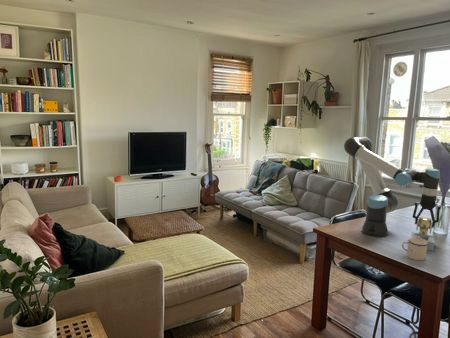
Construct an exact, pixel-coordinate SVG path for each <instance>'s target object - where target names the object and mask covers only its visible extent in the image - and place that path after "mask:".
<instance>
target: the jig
mask: <svg viewBox="0 0 450 338" xmlns="http://www.w3.org/2000/svg"><path fill="white" fill-rule="evenodd" d="M417 236H420V237H421V238H422V239H423V240H425V241H427V242H428V245H427V251H432V252H434V247H435V240H436V237H435V236H434V235H429V234H427V235H424V234H419V232H410V237H409V239H410V238H415V237H417Z"/></svg>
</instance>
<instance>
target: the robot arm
mask: <svg viewBox="0 0 450 338" xmlns="http://www.w3.org/2000/svg"><path fill="white" fill-rule="evenodd" d="M343 147H344V151H345V152H346V153H347V155H349V156H350V157H353V158H354V159H356V160H358V161H359V163H360V166H361V167H362V170H363V171H364V175H365V176H366V179H367V181H368V184H369V185H370V187H371V190H372V191H373V194H372V195H370V196H368V198H367V201H366V211H365V214H366V215H365V220H364V223H363V225H362V227H361V232H362V233H363V234H365V235H368V236H371V237H380V238H381V237H387V236H388V233H389V229H388V226H387V214H389V213H392V212H394V211H395V210H397V209H398V207H399V204H400V203H399V197H398V196H396V194H393V193H392V192H393V191H392V190H391V189H390V188H388V187H387V185H386V184H385V180H384V178H383V176H382V175H381V173H383V174H384V175H386V176H388V177H390V178H391V179H392V180H394V181H395V183H396V184H397V185H398V186H402V187H404V186H408V185H410V184H413V183H418V184H422V194H421V199H420V201H415V202H414V209H413V212H412V218H413V219H414V225H416V227H415V228H416V229H415V230H416V231H418V230H419V226H418V224H419V218H420V217H421V214H422V213H423V211H424V210H427V211H429V214H430V216H431V218H430V219H431V220H432V221H431V226H430V229H429V231H428V232H429V234H431V233H432V229H434V228H435V226H436V223H439V221H440V210H441V208H442V206H441V205H437V195H438V191H439V189H438V188H439V183H440V178H441V171H440V170H439V169H436V168H431V167H429V168H425V170H418V169H412V168H404V169H403V168H401V167H399V166H397V165H396V164H394V163H392V162H391V161H388V160H386V159H385V158H383V157H382V156H379V155H378V154H376V153H374V152H373V149H372V148H373V142H372V140H371V139H370V138H368V137H367V136H361V135H360V136H353V137H349V138H348V139H346V140H345V142H344V144H343ZM419 206H420V207H421V208H420V210H419V211H418V207H419ZM434 208H435V210H436V218H435V214H434ZM417 211H418V213H417ZM416 214H417V215H416Z"/></svg>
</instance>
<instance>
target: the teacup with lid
mask: <svg viewBox="0 0 450 338" xmlns="http://www.w3.org/2000/svg"><path fill="white" fill-rule="evenodd" d="M405 244H406V245H408V246H407V249H406V248H405V247H404V245H405ZM427 245H428V242H427V241H425V240H423V239H422V238H421V237H420V236H417V237H415V238H410V237H409V238H408V241H403V242H402V243H401V248H402V250H404V251H405V252H407V257H408V258H410V259H412V260H414V261H424V260H426V259H427V252H428V250H427Z"/></svg>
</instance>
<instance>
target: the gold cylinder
mask: <svg viewBox="0 0 450 338" xmlns="http://www.w3.org/2000/svg"><path fill="white" fill-rule="evenodd" d="M418 219H419V224H418V228H419V229H418V230H419V231H418V233H419V234H424V235H429V234H428V232H429V230H430V226H431V221H432V218H428V217H421V216H420V217H419V218H418Z"/></svg>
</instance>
